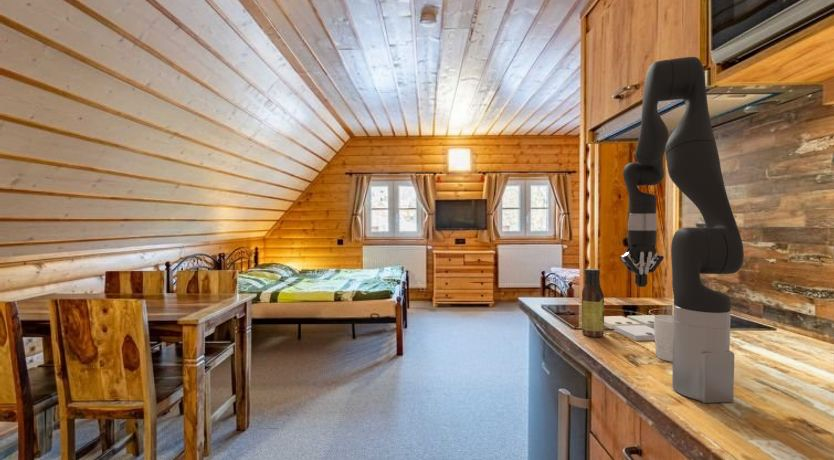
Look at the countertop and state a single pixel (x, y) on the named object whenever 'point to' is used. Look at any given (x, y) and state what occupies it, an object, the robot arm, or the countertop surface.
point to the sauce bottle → (592, 305)
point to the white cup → (664, 336)
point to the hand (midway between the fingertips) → (641, 286)
